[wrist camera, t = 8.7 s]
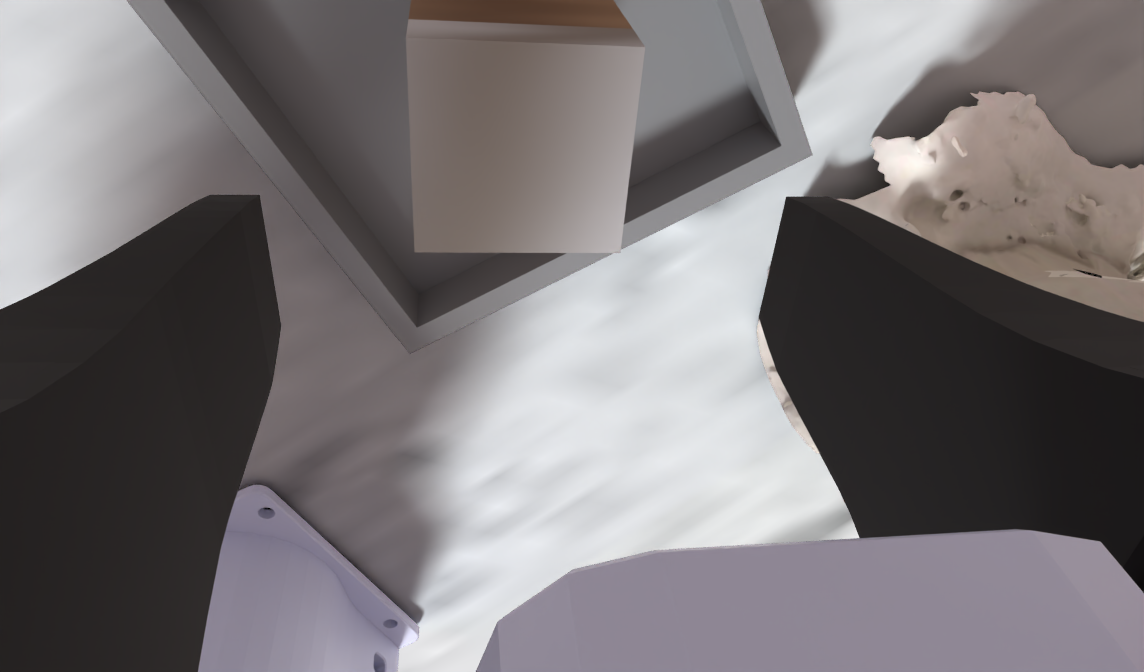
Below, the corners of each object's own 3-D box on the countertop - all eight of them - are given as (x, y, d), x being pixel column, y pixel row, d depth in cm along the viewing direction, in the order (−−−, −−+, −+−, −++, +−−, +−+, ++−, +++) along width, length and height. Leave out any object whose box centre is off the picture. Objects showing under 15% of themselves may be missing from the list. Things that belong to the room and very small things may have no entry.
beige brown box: (582, -47, 18) (645, 47, 12) (570, 110, 20) (620, 253, 14) (418, -56, 17) (406, 37, 12) (423, 106, 19) (414, 252, 14)
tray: (782, 121, 21) (812, 154, 20) (412, 307, 23) (410, 354, 22) (622, -332, 16) (645, -343, 14) (149, -37, 18) (116, -14, 16)
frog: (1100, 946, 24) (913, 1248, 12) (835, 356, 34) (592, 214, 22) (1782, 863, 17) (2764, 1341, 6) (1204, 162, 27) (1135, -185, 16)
